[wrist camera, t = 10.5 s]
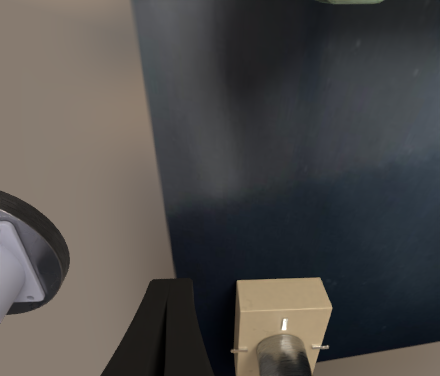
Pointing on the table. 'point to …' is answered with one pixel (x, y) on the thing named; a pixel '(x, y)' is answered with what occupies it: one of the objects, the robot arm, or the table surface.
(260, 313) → the beige rotary knob box
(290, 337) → the dial
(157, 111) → the table surface
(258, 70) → the table surface
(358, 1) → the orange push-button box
